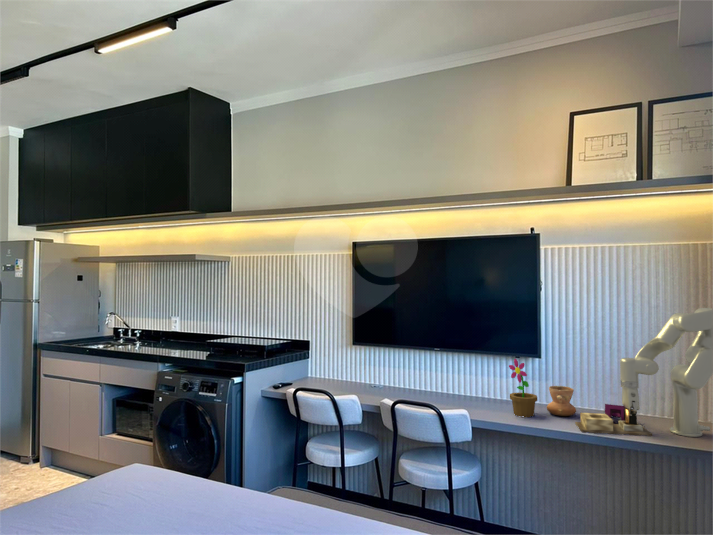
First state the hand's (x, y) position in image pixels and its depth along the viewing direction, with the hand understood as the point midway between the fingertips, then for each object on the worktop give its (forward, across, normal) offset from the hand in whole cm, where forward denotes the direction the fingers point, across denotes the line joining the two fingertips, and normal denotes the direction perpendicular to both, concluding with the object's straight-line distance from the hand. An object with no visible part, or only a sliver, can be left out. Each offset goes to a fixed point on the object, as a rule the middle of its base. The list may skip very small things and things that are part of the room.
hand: (630, 421), depth 233 cm
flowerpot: (+4, +20, +46) cm, 50 cm away
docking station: (+4, 0, +8) cm, 9 cm away
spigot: (+3, 0, 0) cm, 3 cm away
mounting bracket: (+5, +17, +1) cm, 18 cm away
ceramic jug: (+4, +25, +26) cm, 36 cm away
